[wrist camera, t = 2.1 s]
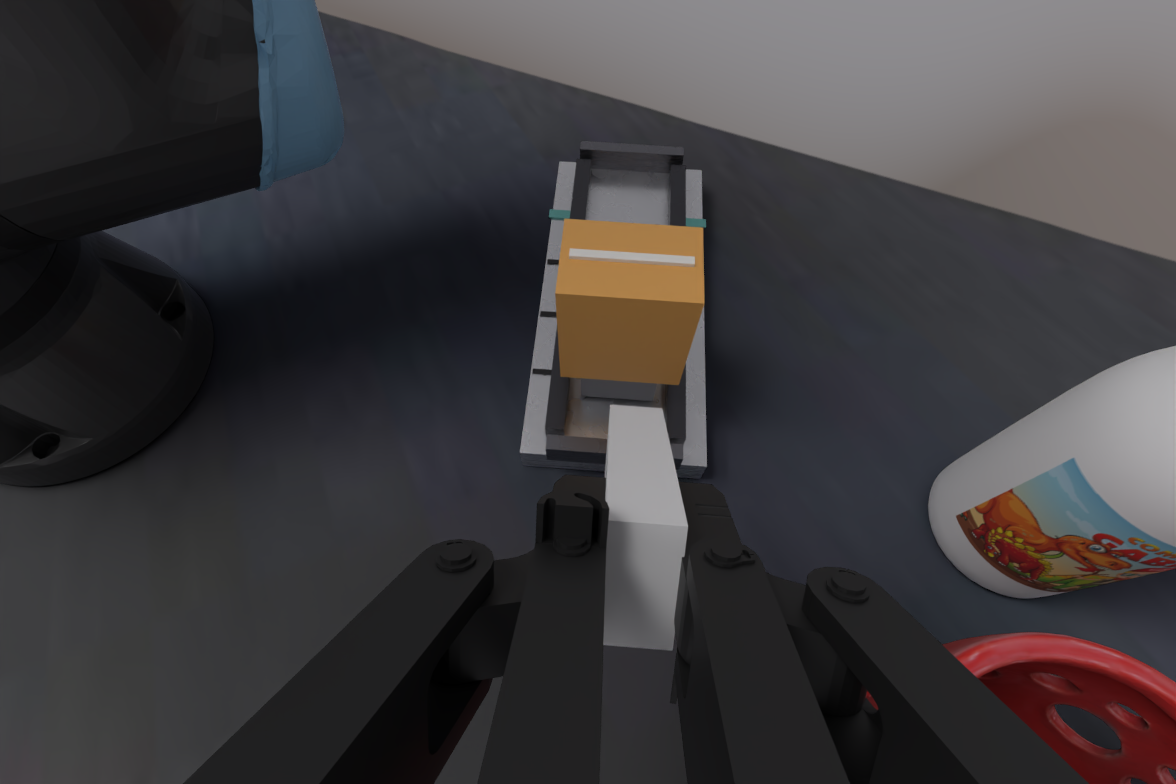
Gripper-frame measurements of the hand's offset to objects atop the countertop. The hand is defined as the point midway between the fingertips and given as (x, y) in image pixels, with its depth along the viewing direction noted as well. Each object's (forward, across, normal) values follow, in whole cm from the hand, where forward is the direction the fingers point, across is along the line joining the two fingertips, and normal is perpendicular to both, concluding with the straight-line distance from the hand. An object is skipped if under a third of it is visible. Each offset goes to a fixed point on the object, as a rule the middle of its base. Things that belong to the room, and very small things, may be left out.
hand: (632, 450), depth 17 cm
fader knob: (+16, 0, -2) cm, 17 cm away
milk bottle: (+14, +21, -9) cm, 26 cm away
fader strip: (+22, 0, 0) cm, 22 cm away
